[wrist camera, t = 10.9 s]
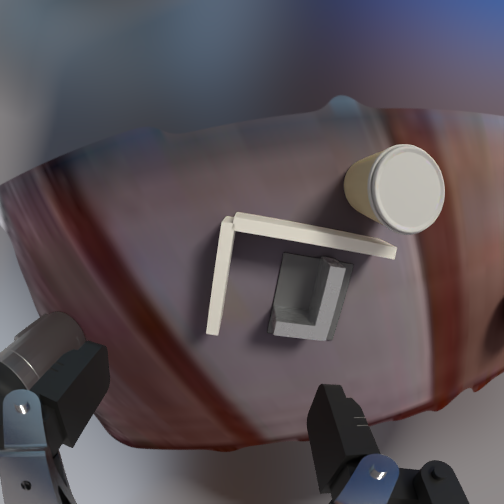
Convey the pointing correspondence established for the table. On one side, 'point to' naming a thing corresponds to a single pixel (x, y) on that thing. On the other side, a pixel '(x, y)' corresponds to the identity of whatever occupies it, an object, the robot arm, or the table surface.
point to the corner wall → (282, 231)
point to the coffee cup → (397, 188)
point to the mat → (304, 286)
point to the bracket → (313, 306)
